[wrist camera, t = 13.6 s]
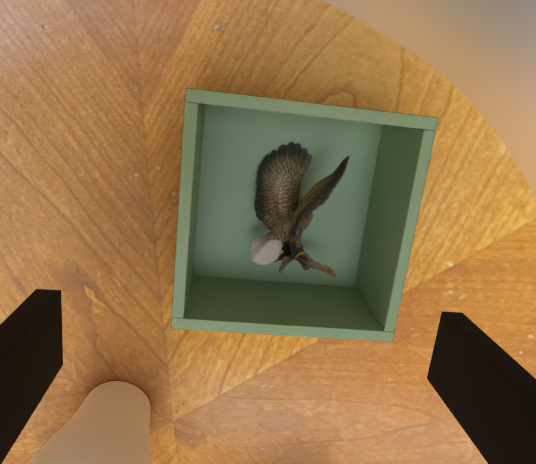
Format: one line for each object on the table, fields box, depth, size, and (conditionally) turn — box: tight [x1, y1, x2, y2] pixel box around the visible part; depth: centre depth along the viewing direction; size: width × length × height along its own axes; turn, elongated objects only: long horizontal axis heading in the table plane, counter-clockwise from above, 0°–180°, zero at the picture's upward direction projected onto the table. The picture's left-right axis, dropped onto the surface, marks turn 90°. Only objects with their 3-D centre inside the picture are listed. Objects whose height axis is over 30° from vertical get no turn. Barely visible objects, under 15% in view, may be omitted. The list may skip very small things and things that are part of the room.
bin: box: [171, 88, 438, 342], centre depth 33 cm, size 16×16×9 cm
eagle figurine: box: [250, 142, 350, 277], centre depth 34 cm, size 8×7×9 cm
